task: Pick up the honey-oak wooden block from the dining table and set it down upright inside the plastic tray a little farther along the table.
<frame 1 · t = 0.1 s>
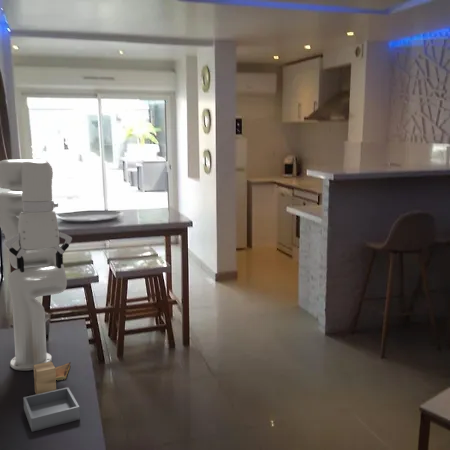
hand: (40, 269, 137), 37 cm above the table, tool pointing down, fingers open, 9 cm apart
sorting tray: (51, 414, 132), on the table
shard: (55, 375, 155), on the table
oak block: (45, 392, 143), on the table
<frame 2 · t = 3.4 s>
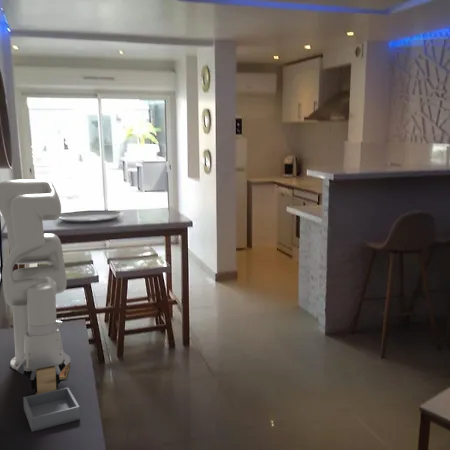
hand: (45, 387, 143), 1 cm above the table, tool pointing down, fingers closed on oak block, 5 cm apart
oak block: (45, 392, 143), on the table, touching gripper
everything else where it was.
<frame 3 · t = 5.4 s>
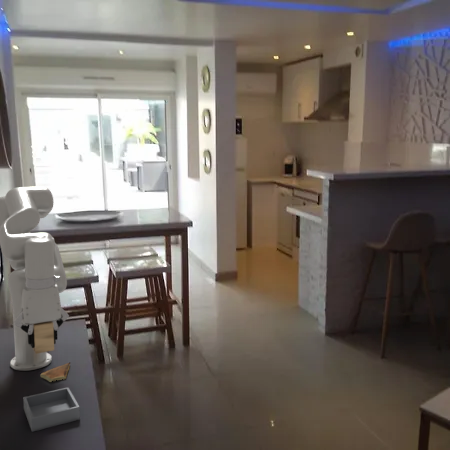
hand: (43, 343, 142), 15 cm above the table, tool pointing down, fingers closed on oak block, 5 cm apart
oak block: (43, 348, 142), point 13 cm above the table, touching gripper
everything else where it was.
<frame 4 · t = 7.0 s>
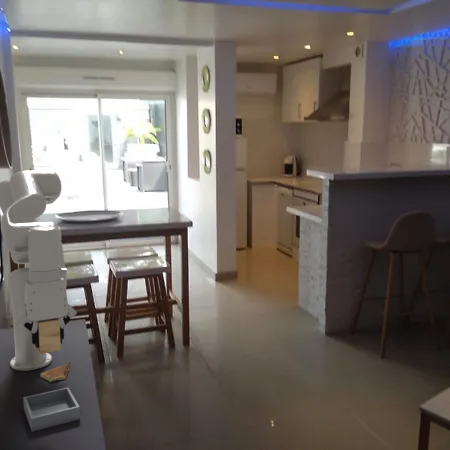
hand: (48, 343, 129), 20 cm above the table, tool pointing down, fingers closed on oak block, 5 cm apart
oak block: (48, 348, 129), point 18 cm above the table, touching gripper
everything else where it was.
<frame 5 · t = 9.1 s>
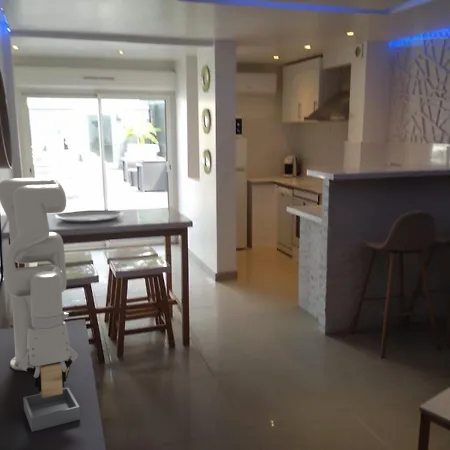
hand: (50, 386, 130), 8 cm above the table, tool pointing down, fingers closed on oak block, 5 cm apart
oak block: (50, 391, 131), point 7 cm above the table, touching gripper
everything else where it was.
when the fingers open (3 cm above the table, at t = 10.9 s): oak block drops 1 cm, resting on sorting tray.
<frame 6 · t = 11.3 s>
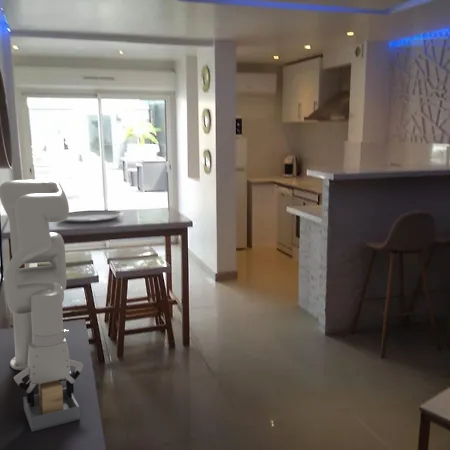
hand: (50, 400, 131), 4 cm above the table, tool pointing down, fingers open, 9 cm apart
oak block: (51, 412, 132), point 1 cm above the table, touching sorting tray
everything else where it was.
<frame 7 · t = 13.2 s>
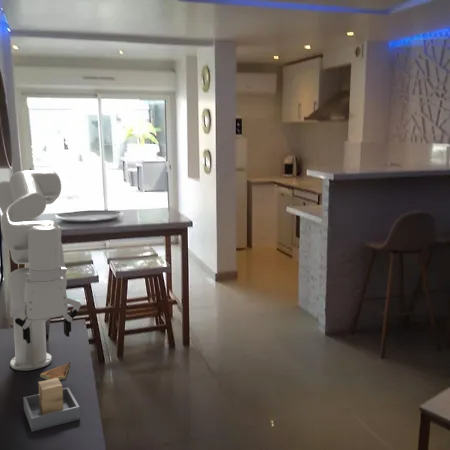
hand: (47, 338, 130), 21 cm above the table, tool pointing down, fingers open, 9 cm apart
nothing on the table moved.
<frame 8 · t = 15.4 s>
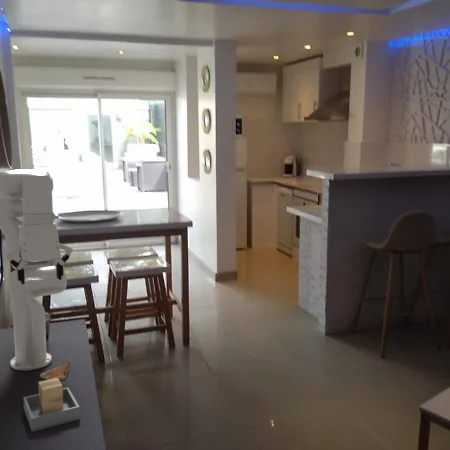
hand: (41, 280, 137), 33 cm above the table, tool pointing down, fingers open, 9 cm apart
nothing on the table moved.
at the end: oak block 0.1 cm off-centre on the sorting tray, point 0.6 cm above the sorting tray's base; oak block tilted 0°; the gripper is holding nothing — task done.
